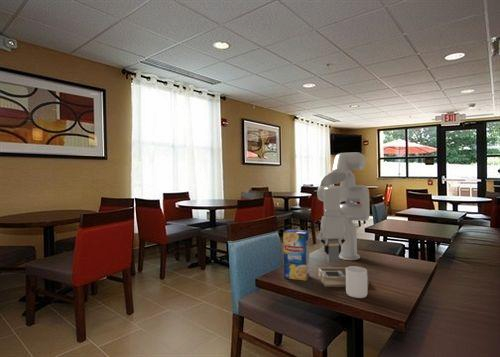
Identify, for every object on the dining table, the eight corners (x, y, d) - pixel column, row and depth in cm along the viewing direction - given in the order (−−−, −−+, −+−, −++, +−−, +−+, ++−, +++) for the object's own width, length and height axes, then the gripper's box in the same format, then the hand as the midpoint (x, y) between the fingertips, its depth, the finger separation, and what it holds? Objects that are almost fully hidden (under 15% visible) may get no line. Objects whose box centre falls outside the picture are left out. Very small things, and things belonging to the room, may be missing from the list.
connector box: (318, 275, 143) (318, 267, 143) (358, 275, 142) (357, 267, 142) (324, 287, 129) (324, 277, 129) (368, 286, 128) (368, 277, 128)
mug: (345, 286, 129) (345, 262, 129) (366, 288, 126) (365, 264, 126) (346, 297, 118) (345, 271, 117) (368, 299, 115) (367, 273, 115)
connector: (326, 259, 138) (326, 238, 138) (336, 259, 138) (336, 238, 138) (328, 262, 133) (328, 240, 133) (339, 262, 133) (338, 240, 133)
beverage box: (306, 280, 137) (305, 233, 136) (283, 277, 141) (283, 232, 141) (309, 275, 143) (308, 230, 143) (287, 273, 147) (287, 229, 147)
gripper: (348, 212, 138) (348, 251, 139) (312, 213, 139) (312, 251, 139) (353, 214, 131) (353, 255, 131) (315, 215, 132) (315, 255, 132)
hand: (332, 253), depth 135 cm, fingers closed on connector, 4 cm apart
